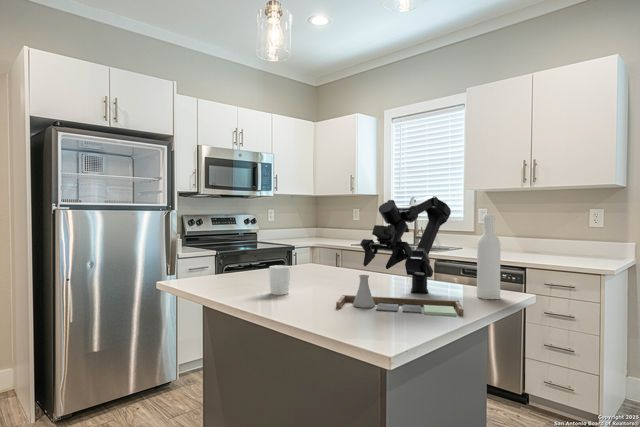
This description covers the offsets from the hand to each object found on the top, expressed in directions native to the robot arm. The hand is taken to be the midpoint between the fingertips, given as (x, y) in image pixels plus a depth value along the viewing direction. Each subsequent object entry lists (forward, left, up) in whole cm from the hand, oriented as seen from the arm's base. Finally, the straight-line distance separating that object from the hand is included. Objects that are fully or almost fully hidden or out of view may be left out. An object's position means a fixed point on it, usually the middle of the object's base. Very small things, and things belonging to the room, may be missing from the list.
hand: (375, 266), depth 138 cm
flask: (+5, -3, -12) cm, 14 cm away
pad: (+7, +20, -12) cm, 25 cm away
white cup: (-8, -36, -12) cm, 39 cm away
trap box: (+5, +8, -12) cm, 15 cm away
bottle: (-19, +39, -12) cm, 45 cm away
